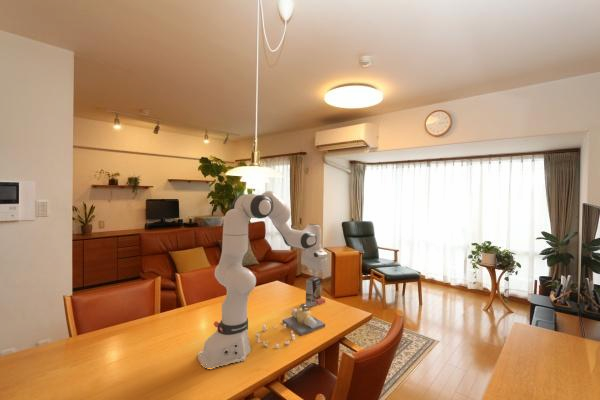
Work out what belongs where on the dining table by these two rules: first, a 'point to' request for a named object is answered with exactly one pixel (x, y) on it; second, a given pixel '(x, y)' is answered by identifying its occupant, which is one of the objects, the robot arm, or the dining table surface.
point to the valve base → (302, 327)
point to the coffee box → (313, 289)
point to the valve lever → (313, 303)
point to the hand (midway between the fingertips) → (313, 275)
